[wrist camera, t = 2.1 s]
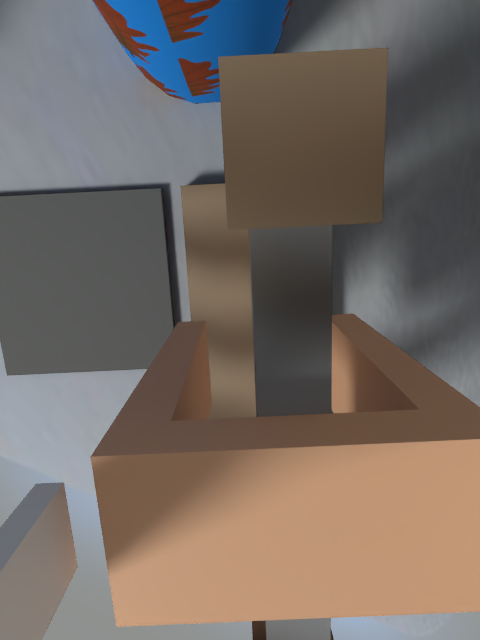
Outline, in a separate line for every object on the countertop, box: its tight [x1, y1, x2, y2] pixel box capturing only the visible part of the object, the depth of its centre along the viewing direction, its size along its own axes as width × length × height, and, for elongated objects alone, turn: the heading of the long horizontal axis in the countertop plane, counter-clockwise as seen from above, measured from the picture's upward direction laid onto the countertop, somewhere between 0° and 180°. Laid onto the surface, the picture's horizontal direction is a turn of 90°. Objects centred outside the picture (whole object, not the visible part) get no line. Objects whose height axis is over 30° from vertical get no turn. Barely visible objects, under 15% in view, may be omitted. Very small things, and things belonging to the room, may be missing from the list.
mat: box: [0, 188, 175, 375], centre depth 29 cm, size 13×13×1 cm
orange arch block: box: [91, 314, 480, 627], centre depth 16 cm, size 5×10×14 cm, turn 93°
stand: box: [181, 48, 388, 640], centre depth 20 cm, size 21×10×21 cm, turn 3°
